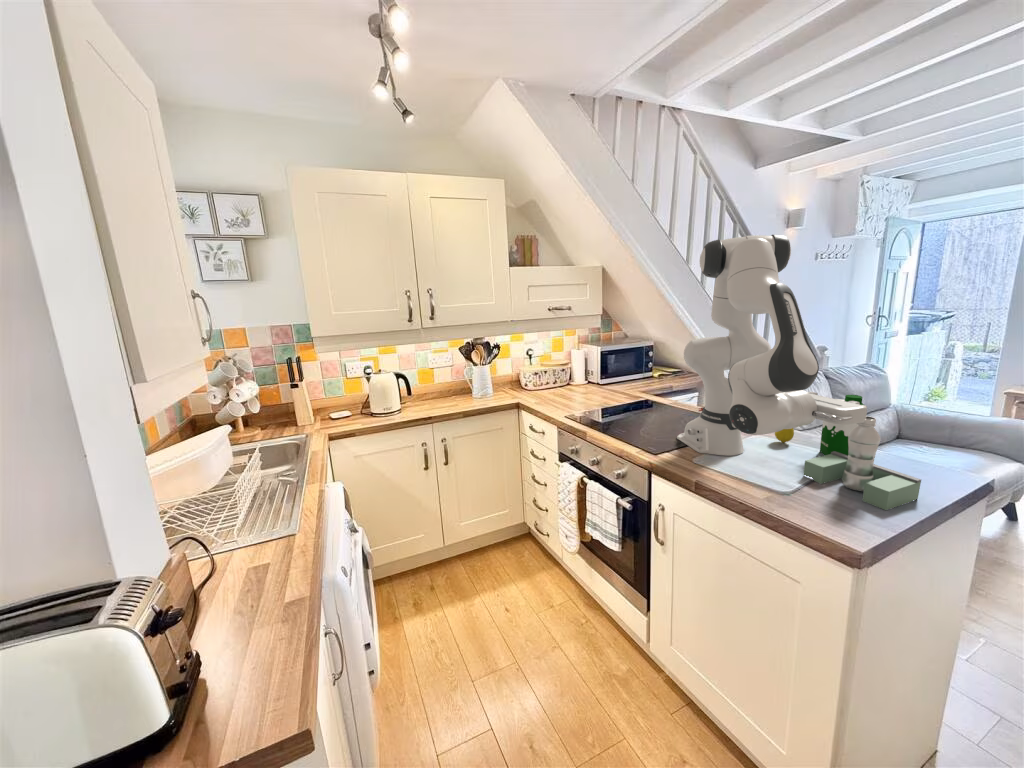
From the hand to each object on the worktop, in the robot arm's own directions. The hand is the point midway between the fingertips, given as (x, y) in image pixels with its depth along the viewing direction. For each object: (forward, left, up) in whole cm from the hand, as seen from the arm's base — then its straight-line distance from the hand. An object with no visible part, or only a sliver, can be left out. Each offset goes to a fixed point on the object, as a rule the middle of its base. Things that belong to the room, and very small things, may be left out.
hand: (834, 399), depth 96 cm
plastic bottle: (0, +13, -27) cm, 30 cm away
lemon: (-30, +25, -27) cm, 47 cm away
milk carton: (-15, +29, -27) cm, 42 cm away
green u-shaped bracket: (0, +13, -27) cm, 30 cm away
